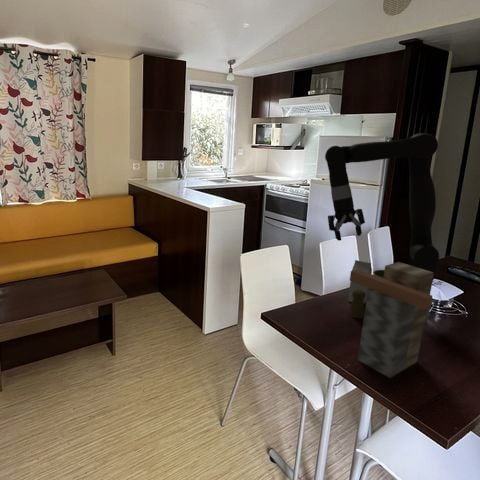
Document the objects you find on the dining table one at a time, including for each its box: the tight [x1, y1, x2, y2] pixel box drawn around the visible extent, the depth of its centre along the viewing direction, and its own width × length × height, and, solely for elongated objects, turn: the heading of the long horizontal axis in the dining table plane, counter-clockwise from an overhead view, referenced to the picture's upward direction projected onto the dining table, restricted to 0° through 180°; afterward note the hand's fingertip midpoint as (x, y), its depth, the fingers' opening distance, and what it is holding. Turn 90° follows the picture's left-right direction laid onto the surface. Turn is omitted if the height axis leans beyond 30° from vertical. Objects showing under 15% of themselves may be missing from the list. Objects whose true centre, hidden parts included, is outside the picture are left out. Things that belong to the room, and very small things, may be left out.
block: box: [349, 269, 433, 309], centre depth 120 cm, size 26×4×4 cm, turn 38°
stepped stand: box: [357, 261, 434, 379], centre depth 124 cm, size 12×16×32 cm
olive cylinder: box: [348, 290, 365, 319], centre depth 160 cm, size 6×6×11 cm
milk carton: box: [347, 259, 373, 305], centre depth 173 cm, size 7×7×19 cm
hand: (349, 237), depth 151 cm, fingers open, 8 cm apart
